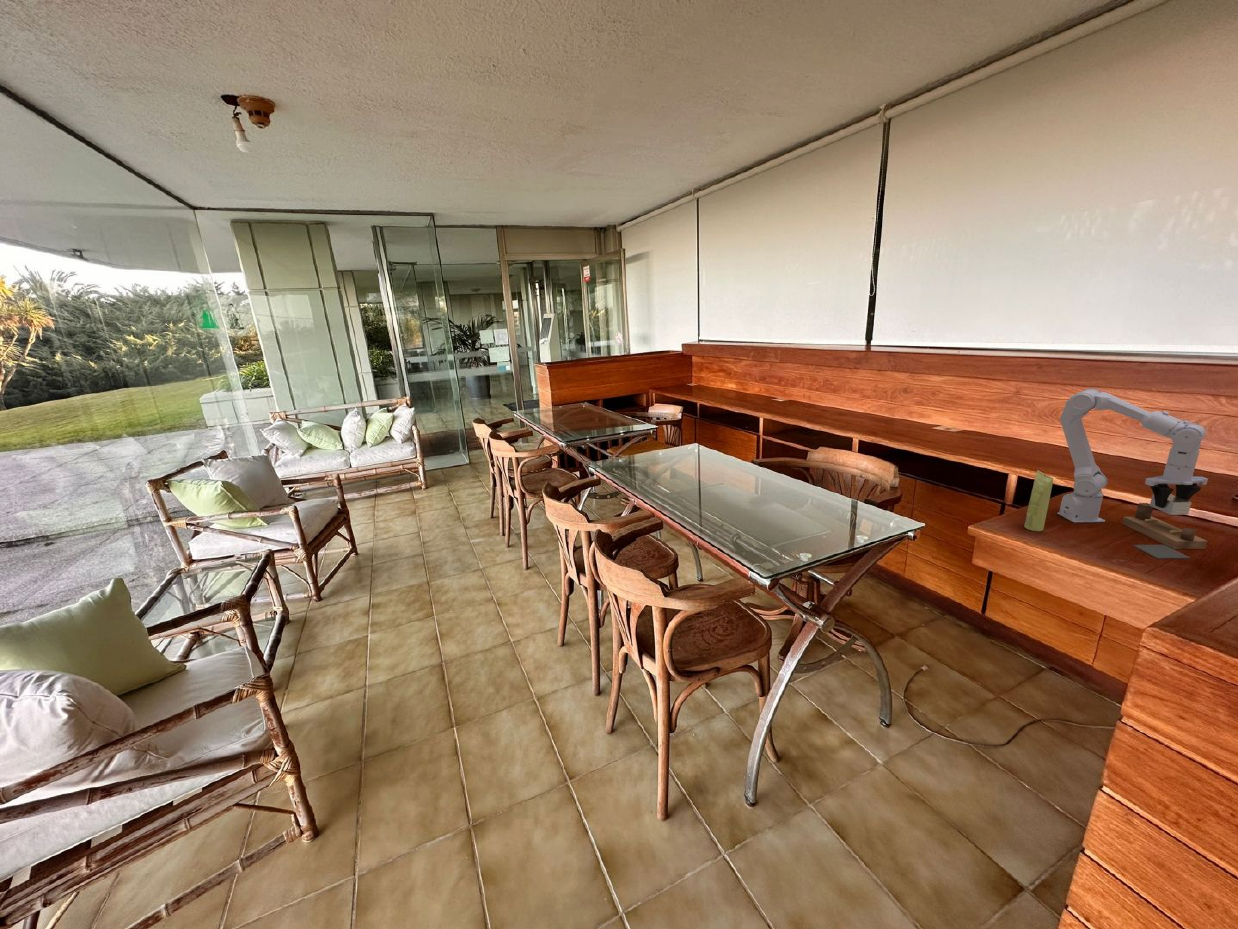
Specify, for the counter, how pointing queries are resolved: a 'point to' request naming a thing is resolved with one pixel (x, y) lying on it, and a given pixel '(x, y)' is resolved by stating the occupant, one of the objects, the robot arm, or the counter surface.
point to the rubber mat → (1161, 552)
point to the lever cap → (1173, 505)
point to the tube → (1039, 502)
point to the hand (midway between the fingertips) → (1168, 506)
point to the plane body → (1163, 530)
